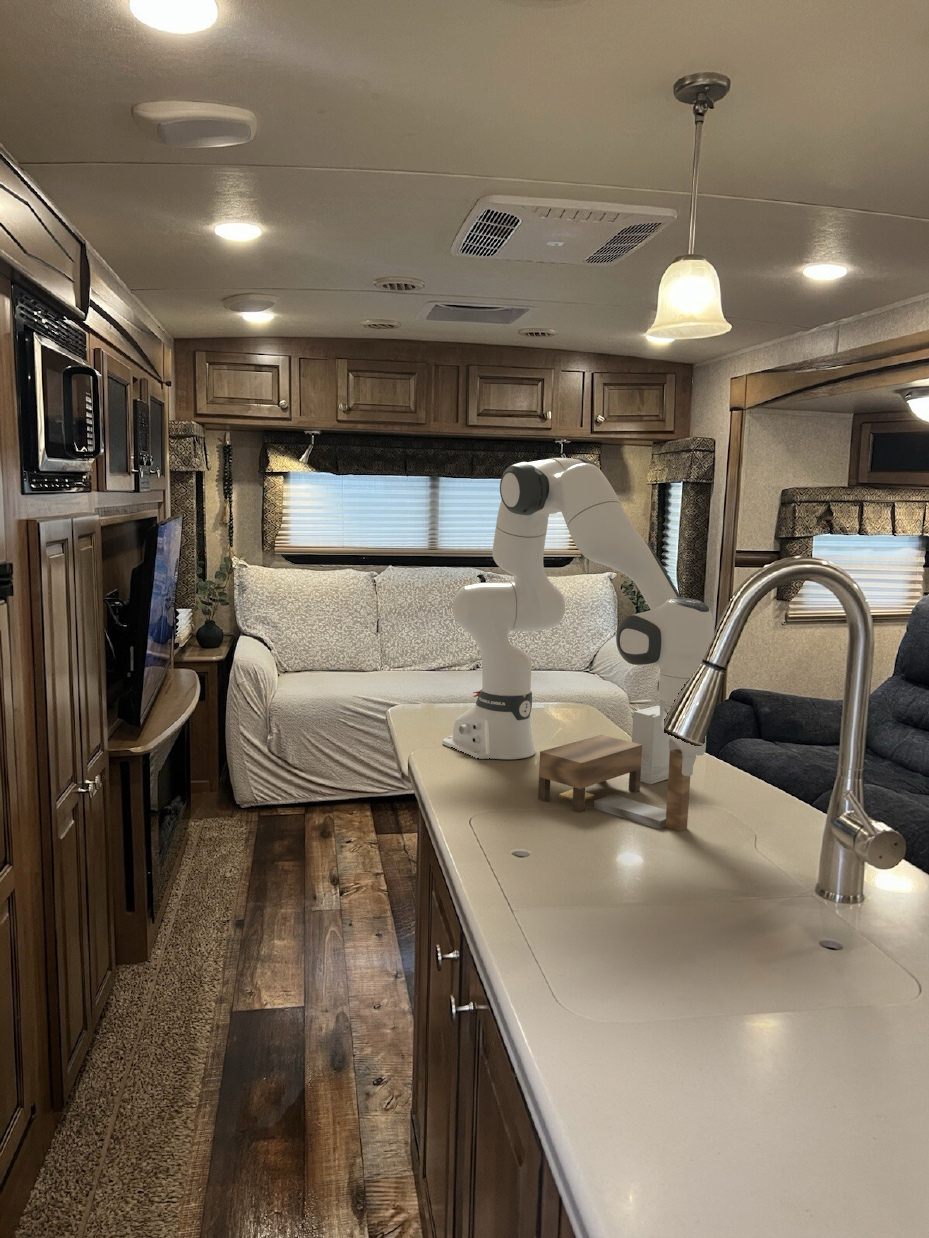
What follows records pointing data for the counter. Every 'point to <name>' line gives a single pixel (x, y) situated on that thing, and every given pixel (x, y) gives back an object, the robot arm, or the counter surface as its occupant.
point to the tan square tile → (569, 795)
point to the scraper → (649, 814)
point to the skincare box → (651, 744)
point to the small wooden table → (589, 766)
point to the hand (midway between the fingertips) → (680, 767)
